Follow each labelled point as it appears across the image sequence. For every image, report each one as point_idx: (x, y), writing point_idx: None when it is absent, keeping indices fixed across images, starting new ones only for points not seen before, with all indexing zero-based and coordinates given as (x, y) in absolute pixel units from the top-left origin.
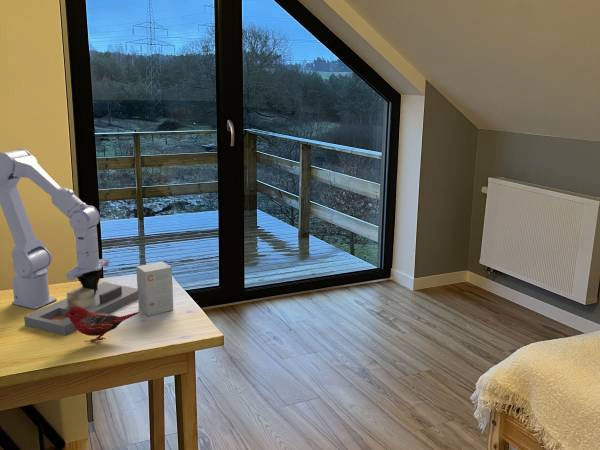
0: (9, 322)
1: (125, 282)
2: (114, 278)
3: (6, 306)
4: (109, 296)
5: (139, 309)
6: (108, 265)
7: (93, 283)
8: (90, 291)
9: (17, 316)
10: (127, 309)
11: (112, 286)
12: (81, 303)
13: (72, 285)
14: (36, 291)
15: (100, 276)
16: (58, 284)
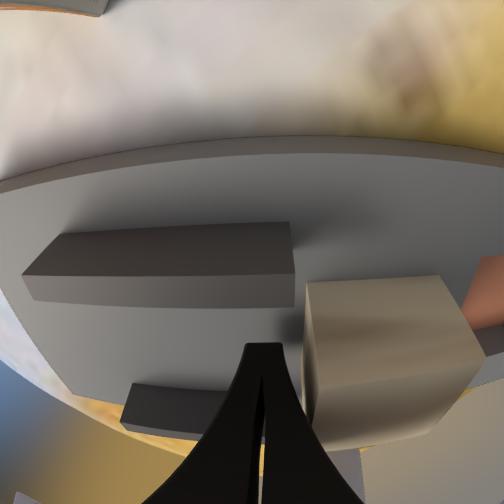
0: (468, 389)
1: (9, 340)
2: (32, 378)
3: (364, 449)
4: (181, 246)
5: (105, 5)
6: (24, 498)
7: (281, 454)
8: (374, 379)
9: None
10: (142, 77)
11: (58, 351)
12: (455, 306)
13: (151, 435)
14: (352, 473)
15: (166, 494)
16: (176, 452)
